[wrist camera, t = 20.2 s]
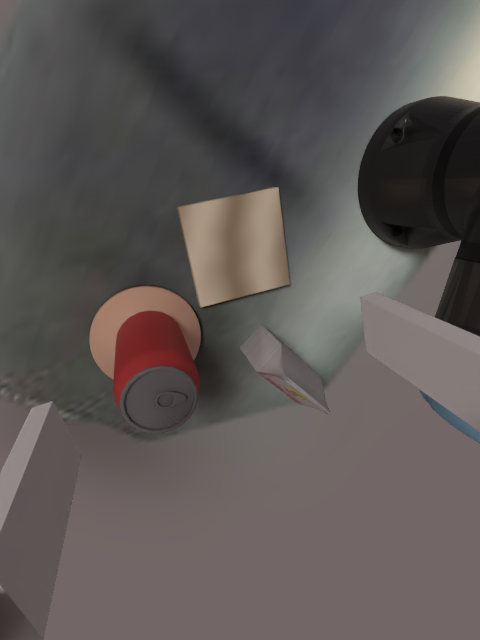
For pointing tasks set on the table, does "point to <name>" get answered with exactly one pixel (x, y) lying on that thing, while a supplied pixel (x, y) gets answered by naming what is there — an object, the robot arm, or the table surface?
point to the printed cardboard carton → (284, 369)
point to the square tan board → (235, 245)
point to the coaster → (131, 304)
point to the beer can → (154, 373)
